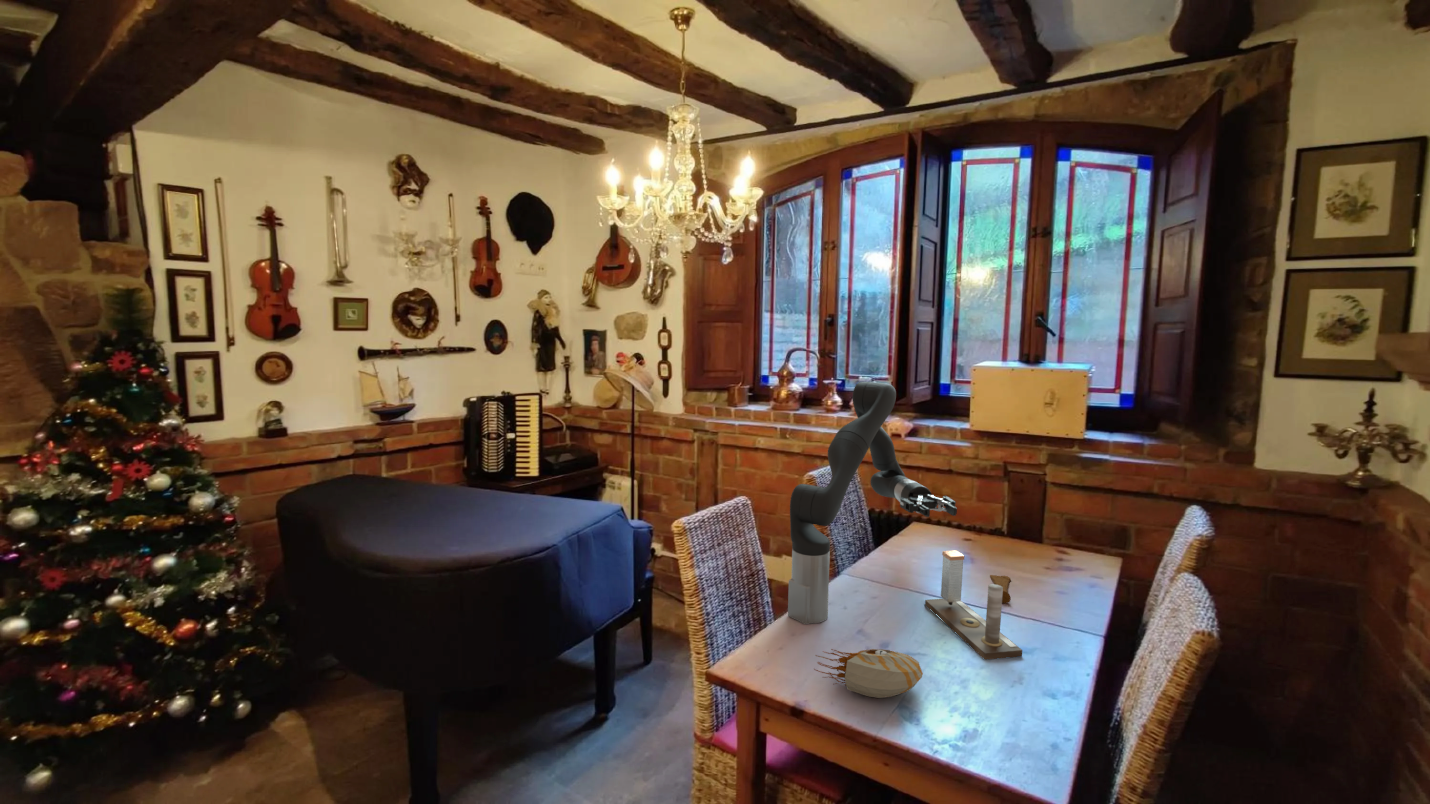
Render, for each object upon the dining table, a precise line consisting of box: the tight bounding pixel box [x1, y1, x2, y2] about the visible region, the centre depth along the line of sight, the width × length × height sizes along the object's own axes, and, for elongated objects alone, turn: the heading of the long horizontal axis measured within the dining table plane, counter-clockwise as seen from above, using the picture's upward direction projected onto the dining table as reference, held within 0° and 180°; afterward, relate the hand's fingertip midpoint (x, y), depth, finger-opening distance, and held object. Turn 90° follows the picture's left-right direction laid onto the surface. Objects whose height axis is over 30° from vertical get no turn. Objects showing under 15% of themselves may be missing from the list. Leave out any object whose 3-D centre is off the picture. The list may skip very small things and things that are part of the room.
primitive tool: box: [989, 574, 1012, 604], centre depth 176 cm, size 19×6×4 cm, turn 161°
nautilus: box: [813, 648, 924, 699], centre depth 130 cm, size 8×22×15 cm
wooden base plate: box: [924, 583, 1023, 661], centre depth 153 cm, size 27×9×14 cm, turn 10°
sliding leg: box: [940, 550, 965, 605], centre depth 162 cm, size 4×4×13 cm
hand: (941, 512), depth 166 cm, fingers open, 7 cm apart
